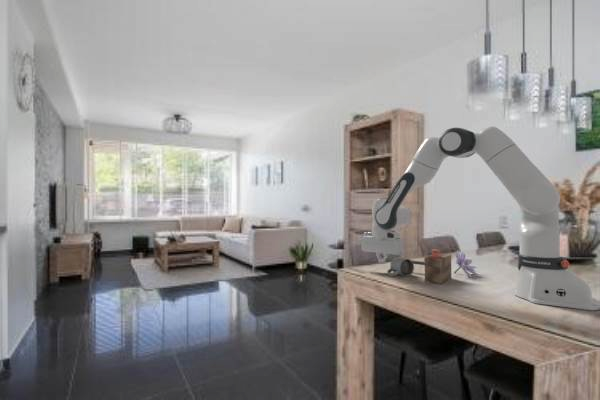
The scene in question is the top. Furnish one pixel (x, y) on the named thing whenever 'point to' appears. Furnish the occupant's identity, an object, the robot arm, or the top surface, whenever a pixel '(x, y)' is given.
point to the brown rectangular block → (437, 269)
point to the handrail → (418, 262)
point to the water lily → (464, 264)
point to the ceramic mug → (401, 267)
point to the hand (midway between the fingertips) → (382, 262)
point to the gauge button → (435, 253)
